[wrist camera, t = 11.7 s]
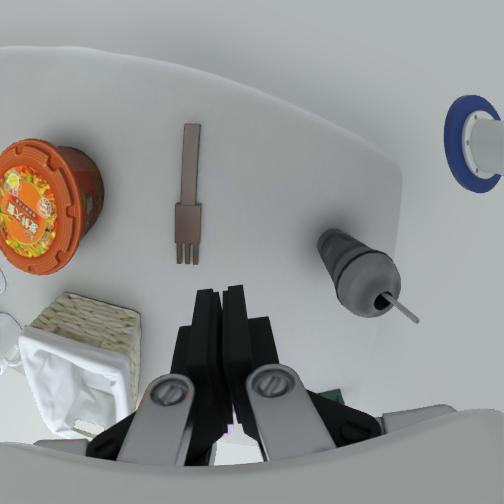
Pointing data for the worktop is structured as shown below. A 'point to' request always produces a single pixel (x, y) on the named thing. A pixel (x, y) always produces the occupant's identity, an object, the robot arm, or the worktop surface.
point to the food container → (46, 204)
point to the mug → (9, 341)
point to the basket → (82, 363)
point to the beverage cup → (361, 275)
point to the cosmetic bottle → (2, 283)
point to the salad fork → (189, 198)
